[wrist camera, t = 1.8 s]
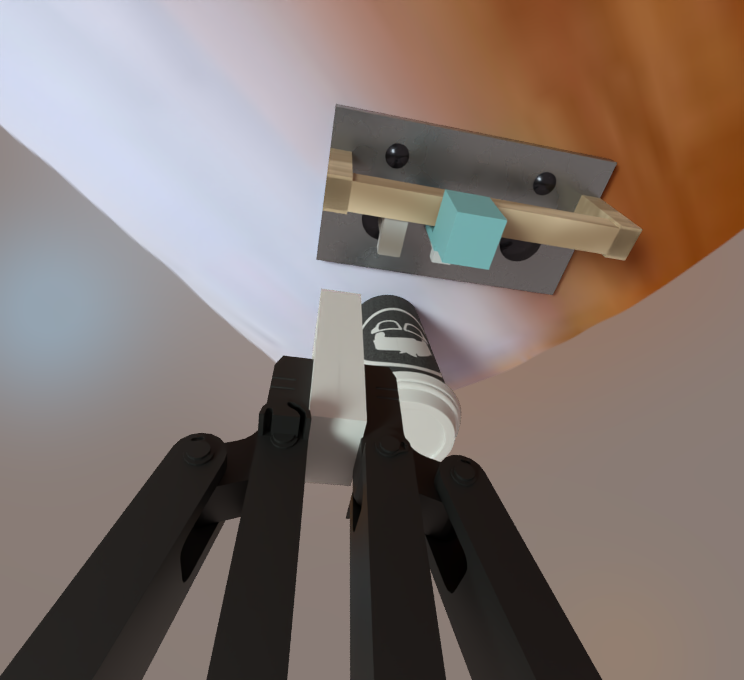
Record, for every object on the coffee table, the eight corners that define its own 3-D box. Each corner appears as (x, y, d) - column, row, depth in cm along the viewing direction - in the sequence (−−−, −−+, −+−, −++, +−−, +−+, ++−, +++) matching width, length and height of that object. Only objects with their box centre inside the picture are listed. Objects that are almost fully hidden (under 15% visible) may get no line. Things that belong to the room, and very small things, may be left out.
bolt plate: (336, 103, 32) (335, 106, 31) (611, 159, 35) (617, 163, 35) (317, 254, 39) (316, 259, 38) (548, 289, 42) (552, 295, 41)
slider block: (430, 161, 34) (457, 211, 25) (467, 168, 34) (507, 220, 26) (412, 231, 37) (431, 296, 28) (447, 236, 37) (476, 302, 29)
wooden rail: (330, 147, 33) (327, 173, 28) (599, 198, 36) (642, 229, 31) (322, 214, 36) (317, 249, 31) (571, 256, 39) (606, 293, 34)
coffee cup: (317, 311, 43) (305, 430, 31) (403, 262, 40) (428, 370, 28) (370, 374, 48) (378, 497, 36) (450, 334, 45) (488, 452, 33)
